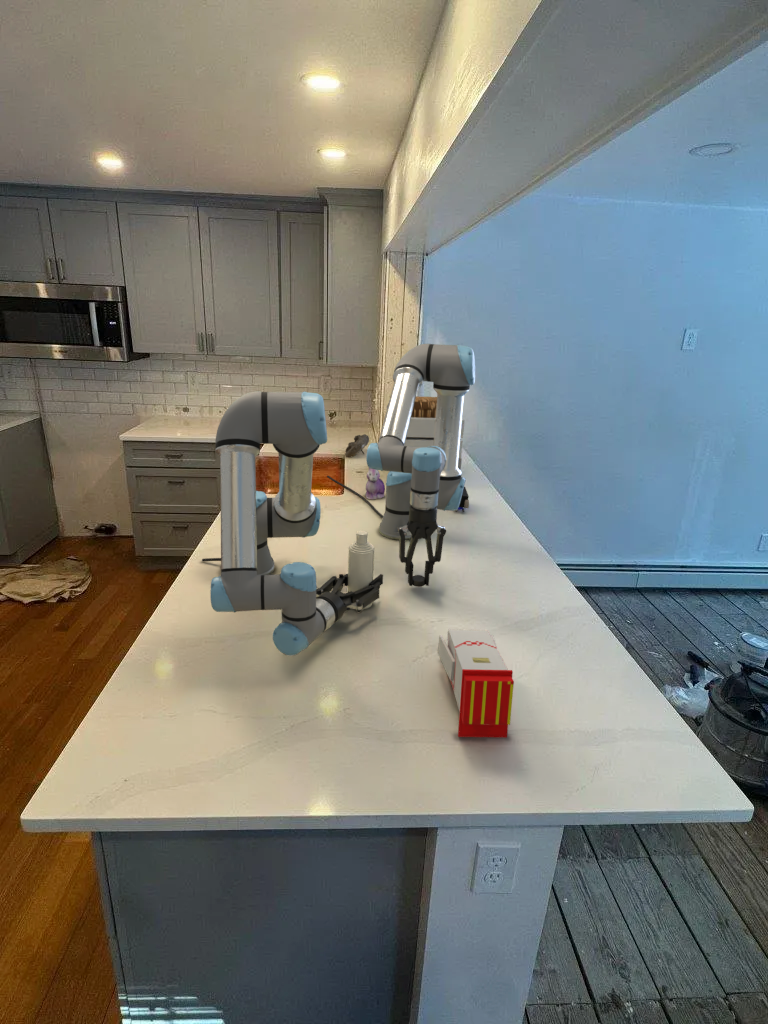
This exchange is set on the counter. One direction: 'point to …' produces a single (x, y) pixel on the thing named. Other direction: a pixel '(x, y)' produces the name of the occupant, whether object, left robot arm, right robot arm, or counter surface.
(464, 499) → the figurine character
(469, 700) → the toy
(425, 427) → the transformer
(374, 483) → the figurine
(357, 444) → the fossil
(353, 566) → the bottle
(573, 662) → the counter surface
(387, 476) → the right robot arm
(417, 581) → the cap
